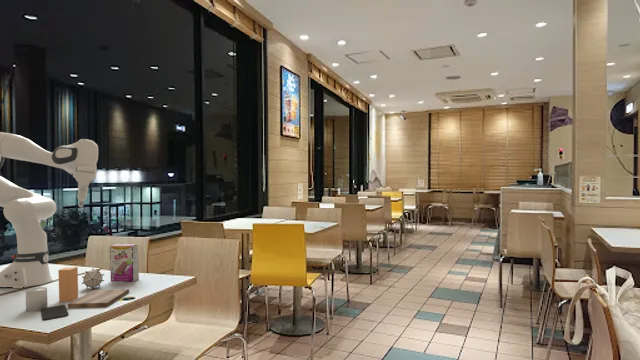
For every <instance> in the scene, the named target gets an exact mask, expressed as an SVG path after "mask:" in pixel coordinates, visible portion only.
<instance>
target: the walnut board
mask: <svg viewBox="0 0 640 360" xmlns="http://www.w3.org/2000/svg"><path fill="white" fill-rule="evenodd" d="M129 293H130V289H129V288H126V289H125V288H124V289H123V288H121V289H118V288H117V289H92V290H91V291H90V292H88V293H86V294H84V295H82V296H80V297H78V298H76V299H75V300H73V301H69V302H68V303H67V309H74V308H75V309H76V308H77V309H79V308H80V309H81V308H83V309H85V308H107V307H109V306H111V305H112V304H114V303H116V302H117V301H119V300H120V299H121V298H124V297H125V296H126V295H128V294H129Z"/></svg>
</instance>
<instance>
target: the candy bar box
mask: <svg viewBox="0 0 640 360" xmlns="http://www.w3.org/2000/svg"><path fill="white" fill-rule="evenodd" d="M109 258H110V259H109V263H110V267H109V268H110V282H121V283H122V282H129V283H130V282H131V283H132V282H136V281H137V280H139V279H140V276H139V275H140V273H139V244H135V243H134V244H133V243H132V244H129V243H124V244H123V243H121V244H120V243H119V244H117V243H115V244H112V245H110V246H109Z"/></svg>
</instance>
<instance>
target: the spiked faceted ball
mask: <svg viewBox="0 0 640 360" xmlns="http://www.w3.org/2000/svg"><path fill="white" fill-rule="evenodd" d="M100 270H101V269H98V270H94V268H92V270H90V271H87V270H86V271H85V273H84V276H82V277H81V278H83V280H82V282H81V285H83V284H84V285H85V286H86V288H85V289H88V288H90V289H91V288H92V289H91V290H95V288H96V287H101V285H100V284H101V283H102V282H105V280H103V276H105V273H101V272H100Z"/></svg>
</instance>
